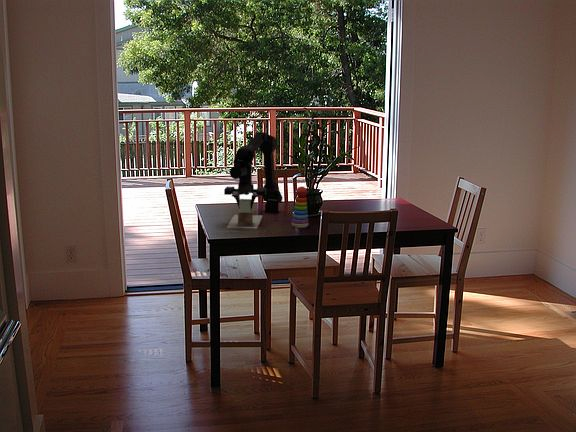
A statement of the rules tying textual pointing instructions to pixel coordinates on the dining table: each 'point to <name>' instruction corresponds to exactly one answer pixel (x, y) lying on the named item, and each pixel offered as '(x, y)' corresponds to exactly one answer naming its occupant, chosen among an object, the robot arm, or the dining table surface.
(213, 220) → the dining table surface
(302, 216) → the stacking toy
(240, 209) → the sage block
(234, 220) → the build board
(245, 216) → the walnut block
